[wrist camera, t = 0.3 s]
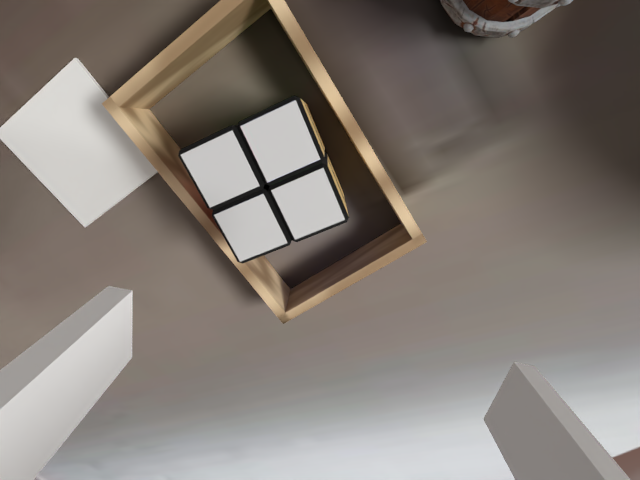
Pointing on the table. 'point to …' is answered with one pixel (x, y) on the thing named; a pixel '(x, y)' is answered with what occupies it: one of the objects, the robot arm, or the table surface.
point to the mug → (498, 15)
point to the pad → (76, 145)
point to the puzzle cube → (267, 180)
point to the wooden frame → (162, 152)
